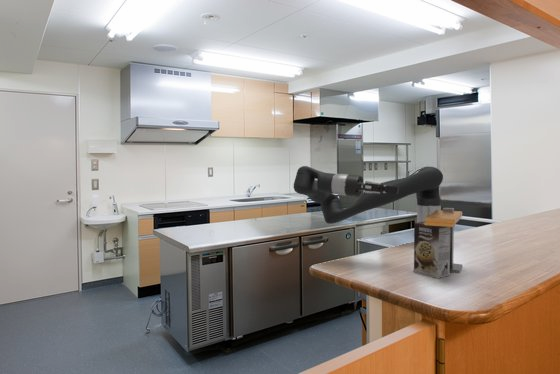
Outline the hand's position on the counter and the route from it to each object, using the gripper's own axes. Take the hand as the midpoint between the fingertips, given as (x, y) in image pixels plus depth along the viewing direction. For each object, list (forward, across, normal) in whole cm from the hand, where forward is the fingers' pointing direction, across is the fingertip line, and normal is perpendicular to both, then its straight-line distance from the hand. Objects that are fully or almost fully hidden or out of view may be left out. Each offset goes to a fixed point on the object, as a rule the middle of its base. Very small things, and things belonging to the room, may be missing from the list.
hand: (398, 190), depth 123 cm
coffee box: (+13, -3, -25) cm, 29 cm away
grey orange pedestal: (+16, -4, -25) cm, 30 cm away
